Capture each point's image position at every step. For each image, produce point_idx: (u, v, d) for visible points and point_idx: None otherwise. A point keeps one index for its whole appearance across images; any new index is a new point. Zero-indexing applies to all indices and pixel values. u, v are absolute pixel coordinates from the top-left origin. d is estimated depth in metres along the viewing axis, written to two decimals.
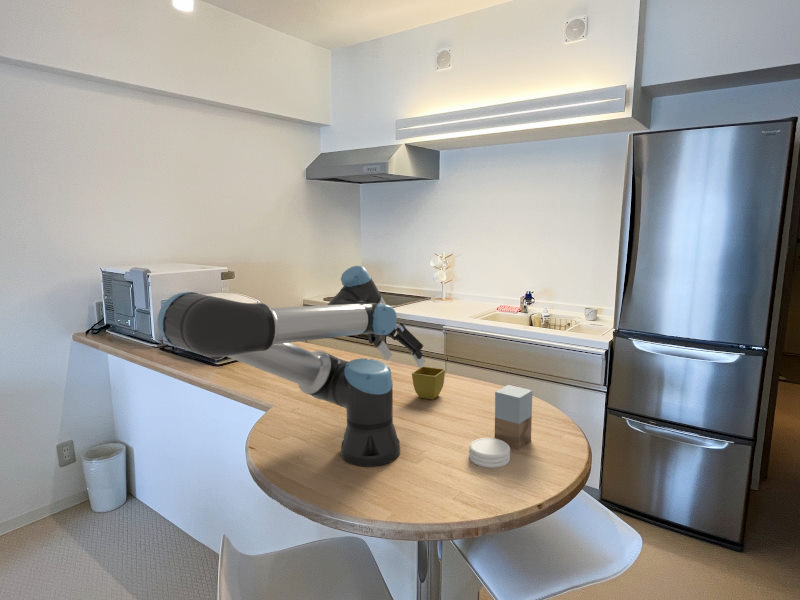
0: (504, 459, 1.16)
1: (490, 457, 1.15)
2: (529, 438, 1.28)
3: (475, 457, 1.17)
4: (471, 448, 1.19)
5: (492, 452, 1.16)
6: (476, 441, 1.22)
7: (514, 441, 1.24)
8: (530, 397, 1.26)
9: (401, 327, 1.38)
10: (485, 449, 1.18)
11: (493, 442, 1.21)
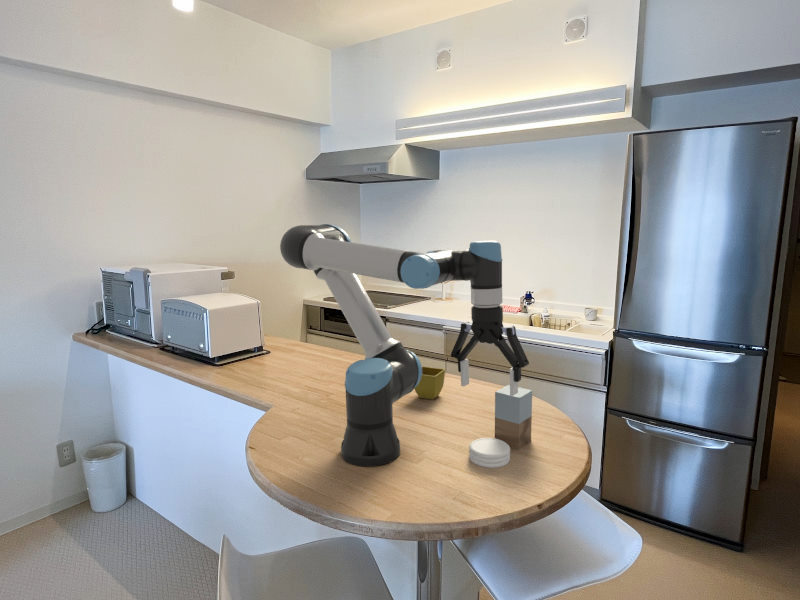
0: (504, 459, 1.16)
1: (490, 457, 1.15)
2: (529, 438, 1.28)
3: (475, 457, 1.17)
4: (471, 448, 1.19)
5: (492, 452, 1.16)
6: (476, 441, 1.22)
7: (514, 441, 1.24)
8: (530, 397, 1.26)
9: (513, 329, 1.14)
10: (485, 449, 1.18)
11: (493, 442, 1.21)
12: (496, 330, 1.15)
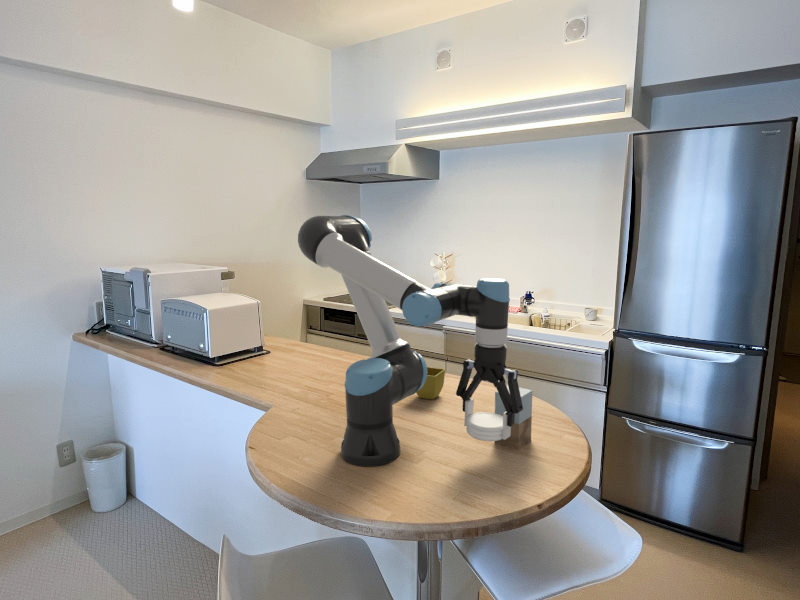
0: (501, 432, 1.15)
1: (487, 430, 1.14)
2: (529, 438, 1.28)
3: (472, 430, 1.16)
4: (468, 421, 1.18)
5: (490, 425, 1.16)
6: (474, 415, 1.21)
7: (514, 441, 1.24)
8: (530, 397, 1.26)
9: (515, 373, 1.12)
10: (482, 422, 1.17)
11: (491, 416, 1.21)
12: (498, 370, 1.14)
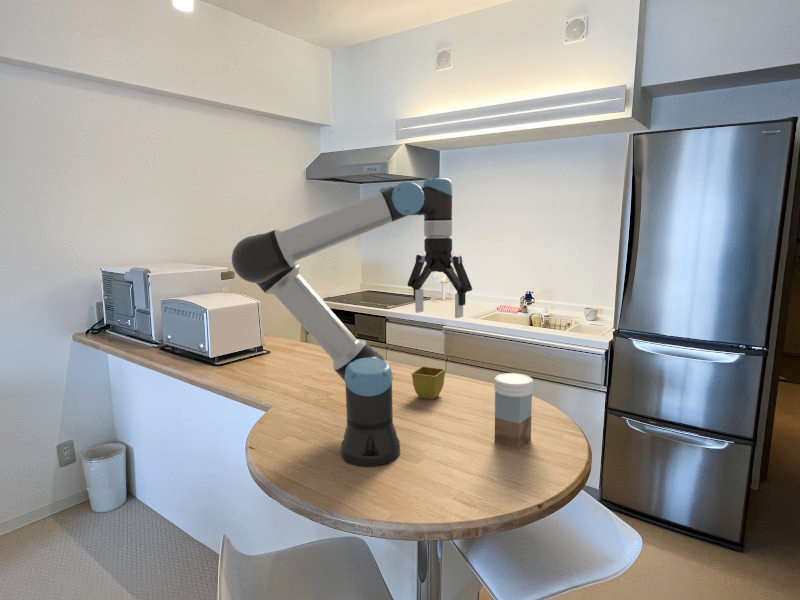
0: (528, 389, 1.23)
1: (515, 386, 1.22)
2: (529, 438, 1.29)
3: (500, 387, 1.24)
4: (496, 380, 1.25)
5: (516, 382, 1.23)
6: (500, 375, 1.29)
7: (514, 440, 1.25)
8: (530, 397, 1.27)
9: (459, 257, 1.27)
10: (509, 380, 1.25)
11: (517, 376, 1.28)
12: (445, 259, 1.29)
